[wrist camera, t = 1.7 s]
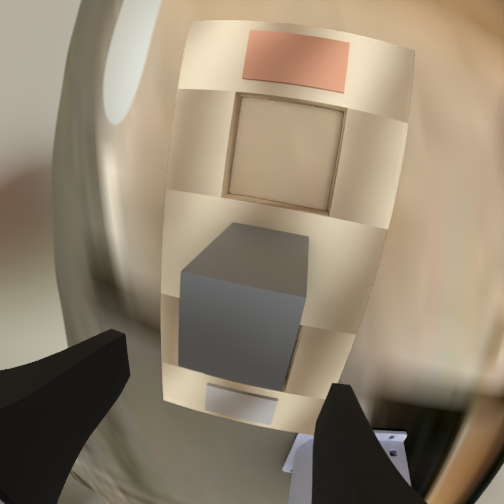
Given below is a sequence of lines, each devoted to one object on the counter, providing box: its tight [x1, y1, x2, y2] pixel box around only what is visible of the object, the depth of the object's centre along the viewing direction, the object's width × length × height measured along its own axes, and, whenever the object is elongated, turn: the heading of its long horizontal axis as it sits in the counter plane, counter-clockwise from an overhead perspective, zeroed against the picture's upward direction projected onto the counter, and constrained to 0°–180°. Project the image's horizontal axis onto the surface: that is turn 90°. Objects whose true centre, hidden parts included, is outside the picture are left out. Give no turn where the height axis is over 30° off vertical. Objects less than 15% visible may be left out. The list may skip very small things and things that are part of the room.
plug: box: [178, 222, 309, 391], centre depth 13 cm, size 4×4×7 cm
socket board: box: [161, 20, 415, 435], centre depth 17 cm, size 12×26×2 cm, turn 172°
